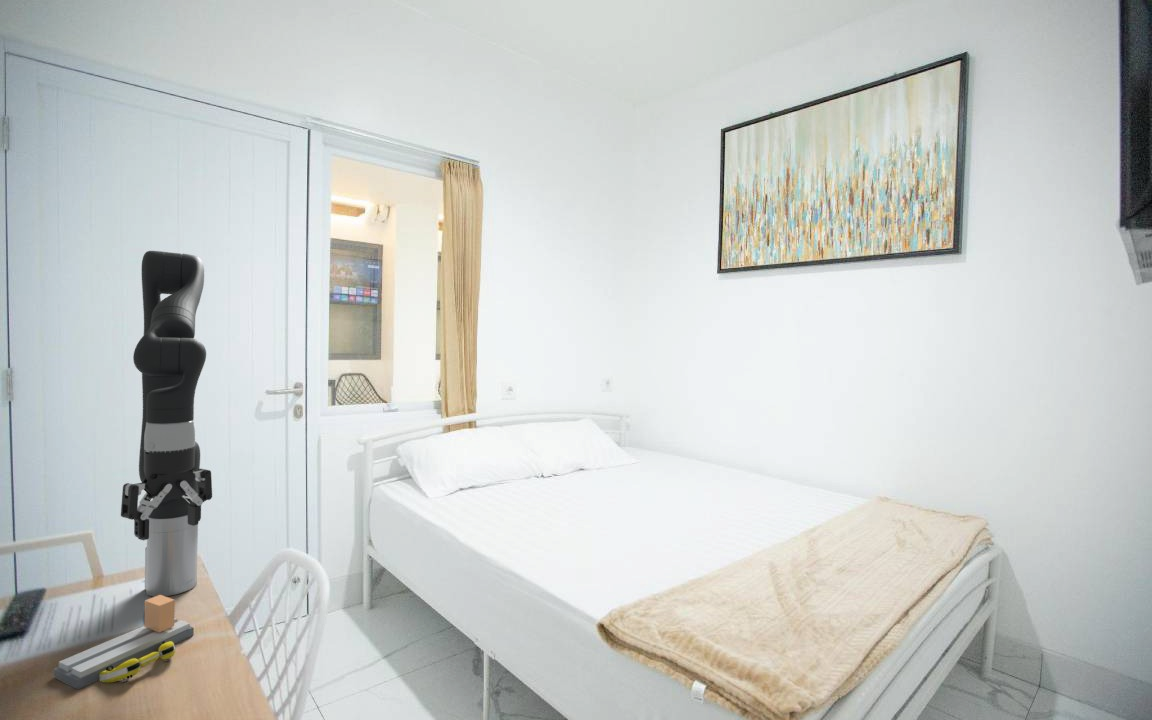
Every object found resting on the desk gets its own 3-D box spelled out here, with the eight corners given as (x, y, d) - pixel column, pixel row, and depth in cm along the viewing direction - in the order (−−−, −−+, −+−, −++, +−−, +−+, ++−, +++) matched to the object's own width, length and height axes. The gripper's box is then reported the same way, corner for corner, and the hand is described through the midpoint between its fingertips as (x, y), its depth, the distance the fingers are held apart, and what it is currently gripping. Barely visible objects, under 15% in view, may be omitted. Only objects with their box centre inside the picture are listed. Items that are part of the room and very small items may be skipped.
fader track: (77, 689, 87) (77, 673, 87) (53, 677, 90) (54, 662, 90) (193, 635, 104) (193, 621, 104) (170, 626, 107) (170, 613, 106)
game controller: (123, 687, 87) (118, 665, 88) (101, 691, 90) (97, 669, 90) (187, 654, 96) (182, 635, 97) (166, 659, 99) (162, 640, 99)
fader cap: (159, 638, 99) (159, 605, 99) (144, 632, 101) (144, 600, 101) (174, 631, 102) (174, 599, 102) (159, 626, 104) (160, 594, 103)
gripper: (196, 437, 108) (195, 517, 109) (112, 449, 95) (111, 540, 96) (221, 441, 105) (220, 523, 106) (138, 454, 92) (137, 548, 93)
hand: (168, 531), depth 101 cm, fingers open, 8 cm apart
